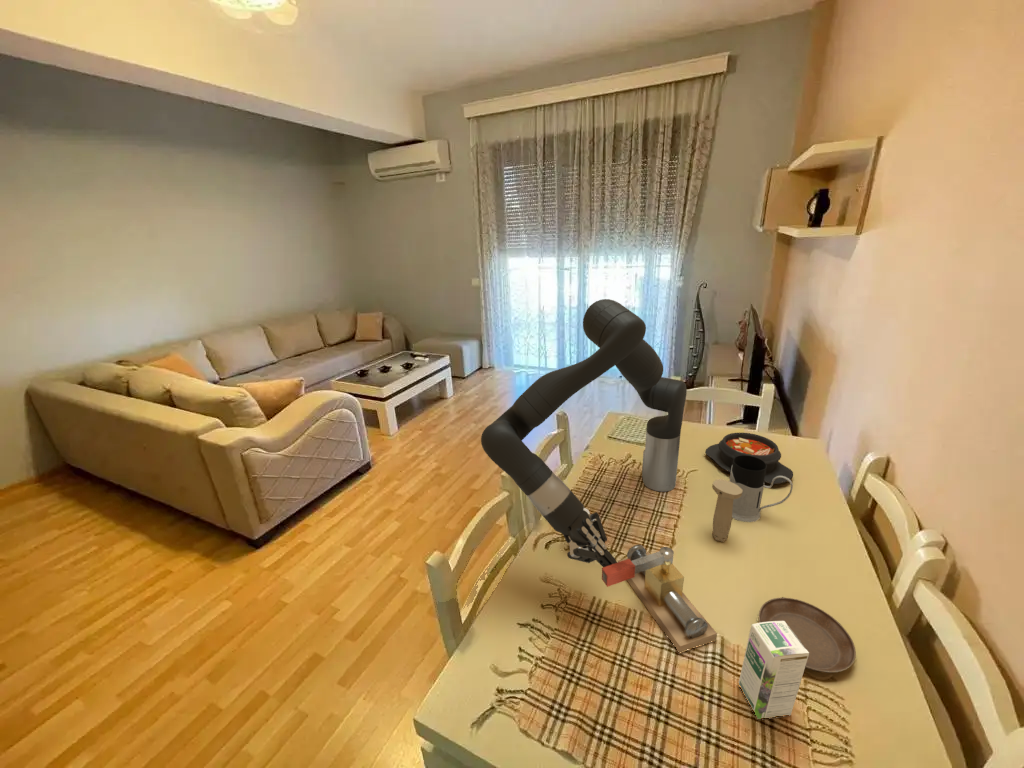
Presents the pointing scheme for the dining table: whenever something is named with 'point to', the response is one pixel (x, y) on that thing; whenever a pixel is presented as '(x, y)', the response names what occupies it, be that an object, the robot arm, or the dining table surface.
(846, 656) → the saucer
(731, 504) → the handle
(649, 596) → the oak base board
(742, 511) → the glass holder
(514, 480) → the robot arm
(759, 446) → the casserole
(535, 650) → the dining table surface
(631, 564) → the valve lever
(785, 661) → the syrup box
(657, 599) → the brass ball valve
